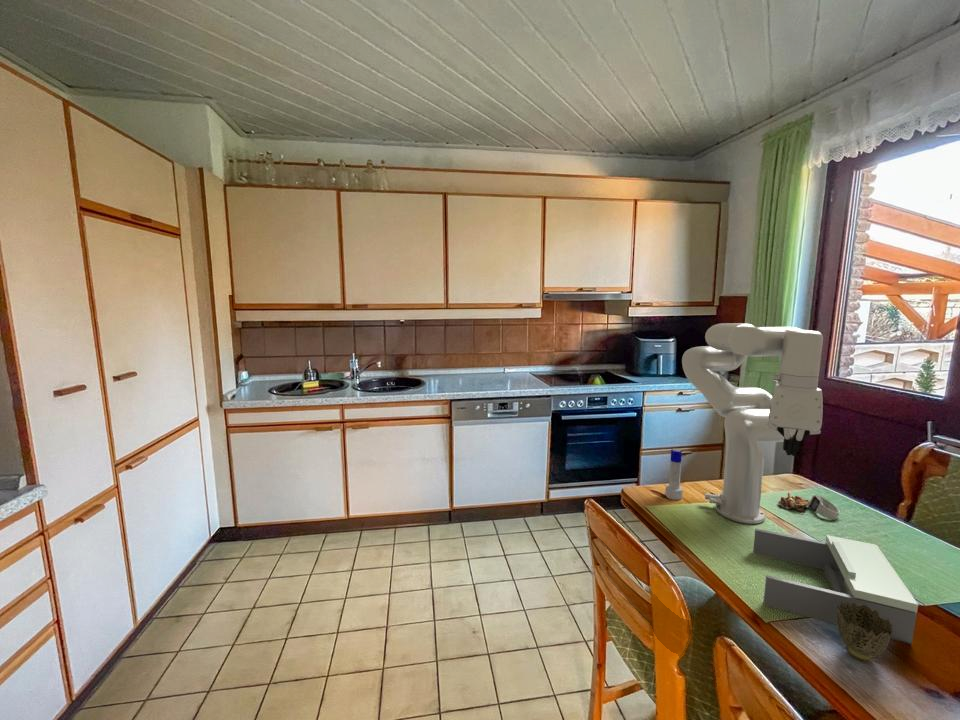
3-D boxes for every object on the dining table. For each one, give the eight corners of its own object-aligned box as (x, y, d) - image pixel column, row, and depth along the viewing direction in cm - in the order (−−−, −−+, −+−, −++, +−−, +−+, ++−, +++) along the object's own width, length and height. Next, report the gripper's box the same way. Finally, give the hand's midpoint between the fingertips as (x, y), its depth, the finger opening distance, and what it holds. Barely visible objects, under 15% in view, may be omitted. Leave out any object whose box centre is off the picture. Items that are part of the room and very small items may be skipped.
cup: (821, 640, 80) (826, 602, 79) (857, 637, 81) (863, 599, 80) (859, 675, 73) (865, 633, 72) (899, 672, 74) (905, 630, 72)
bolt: (683, 501, 135) (666, 499, 136) (680, 494, 139) (664, 492, 141) (686, 453, 132) (669, 452, 134) (683, 448, 137) (666, 446, 138)
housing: (763, 604, 90) (766, 577, 89) (753, 551, 108) (755, 528, 107) (911, 644, 79) (916, 613, 78) (871, 577, 98) (875, 552, 97)
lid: (853, 597, 82) (855, 584, 82) (825, 541, 101) (826, 531, 100) (917, 612, 78) (919, 599, 78) (875, 551, 97) (877, 540, 96)
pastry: (814, 503, 133) (815, 492, 133) (803, 516, 126) (804, 505, 125) (787, 495, 139) (788, 485, 138) (775, 507, 131) (777, 496, 130)
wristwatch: (803, 504, 132) (805, 489, 131) (827, 506, 131) (829, 491, 130) (820, 519, 123) (822, 503, 123) (845, 522, 122) (847, 505, 121)
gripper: (763, 381, 104) (756, 454, 106) (842, 387, 97) (832, 464, 100) (759, 376, 110) (753, 444, 113) (833, 381, 103) (824, 453, 106)
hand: (790, 453), depth 106 cm, fingers closed
